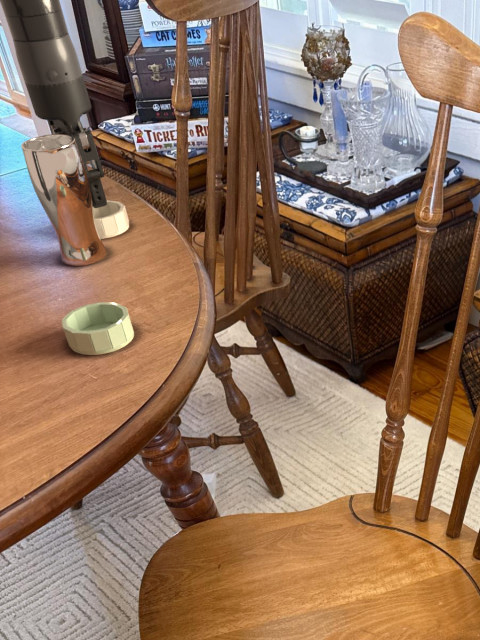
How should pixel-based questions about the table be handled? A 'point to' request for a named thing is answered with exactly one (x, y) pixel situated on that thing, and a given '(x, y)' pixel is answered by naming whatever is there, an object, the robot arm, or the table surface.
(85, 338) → the pale green hollow cylinder
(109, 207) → the faceted cream ring
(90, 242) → the beer glass
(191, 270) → the table surface
